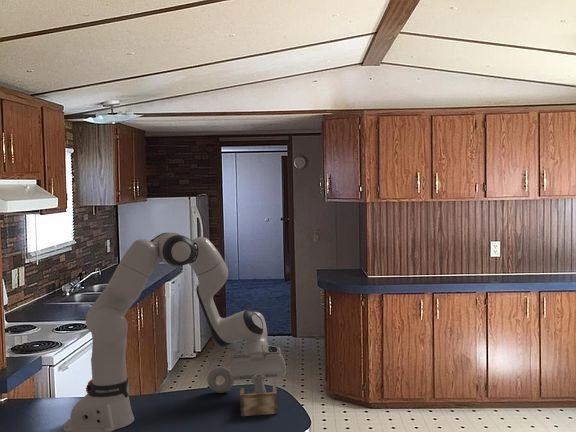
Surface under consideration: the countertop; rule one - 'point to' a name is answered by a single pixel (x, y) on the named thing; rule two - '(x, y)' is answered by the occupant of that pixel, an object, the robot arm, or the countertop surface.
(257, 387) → the flask
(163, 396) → the countertop surface
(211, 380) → the donut
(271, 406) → the wooden arch bench
